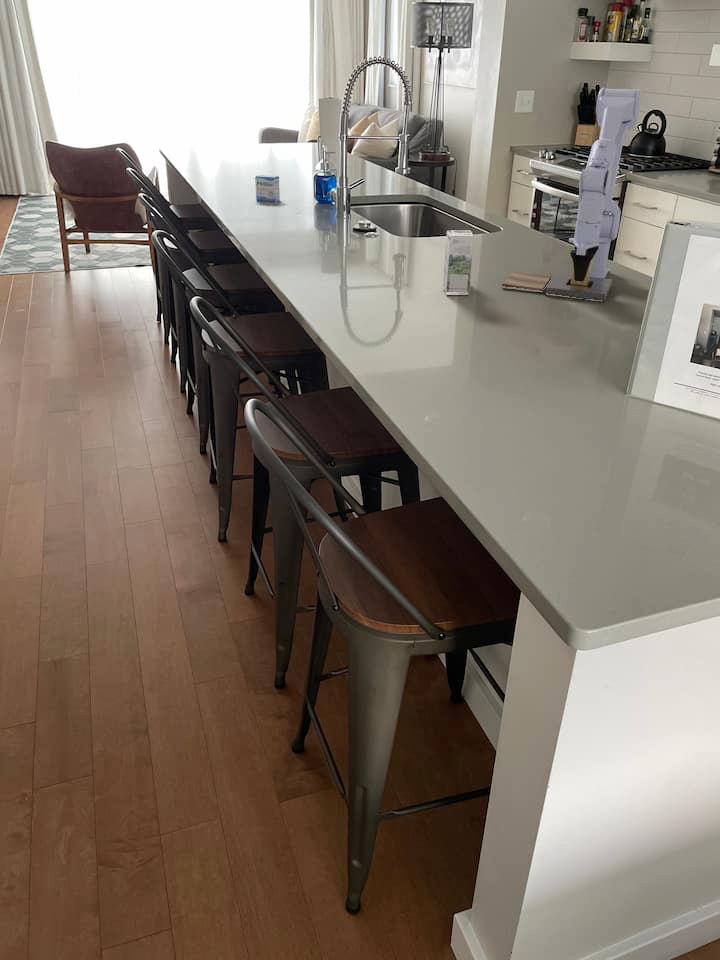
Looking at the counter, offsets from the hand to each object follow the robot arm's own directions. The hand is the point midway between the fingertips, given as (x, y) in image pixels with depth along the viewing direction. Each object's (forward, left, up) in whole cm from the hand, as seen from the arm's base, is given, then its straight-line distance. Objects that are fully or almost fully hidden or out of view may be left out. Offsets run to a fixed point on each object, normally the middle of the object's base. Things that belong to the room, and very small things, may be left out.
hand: (580, 278), depth 193 cm
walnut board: (0, -13, -3) cm, 13 cm away
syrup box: (+14, -27, -3) cm, 31 cm away
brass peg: (0, 0, -3) cm, 3 cm away
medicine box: (-73, -125, -3) cm, 145 cm away
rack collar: (0, 0, -3) cm, 3 cm away
